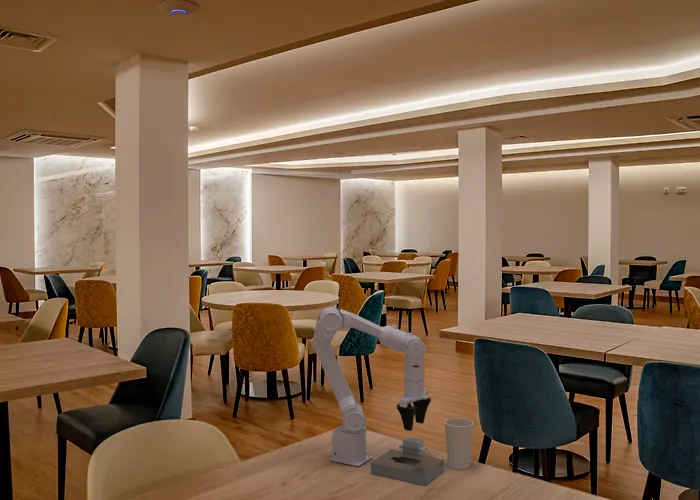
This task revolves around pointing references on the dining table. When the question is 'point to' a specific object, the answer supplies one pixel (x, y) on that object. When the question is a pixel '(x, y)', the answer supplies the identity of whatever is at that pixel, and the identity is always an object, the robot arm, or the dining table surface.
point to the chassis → (407, 467)
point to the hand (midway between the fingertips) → (414, 426)
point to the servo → (413, 446)
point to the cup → (458, 442)
